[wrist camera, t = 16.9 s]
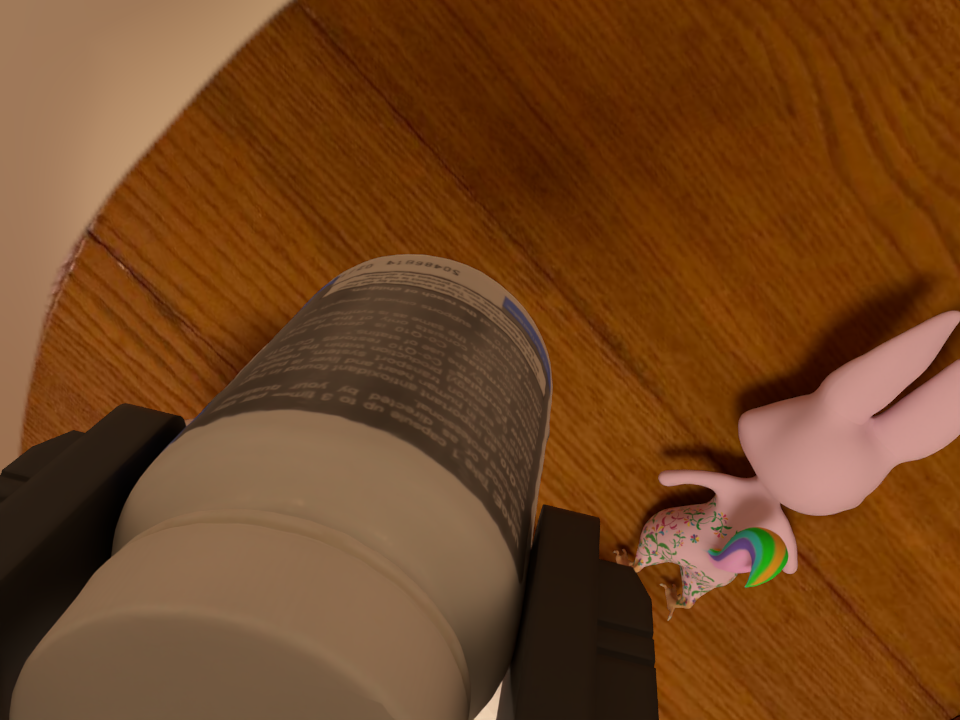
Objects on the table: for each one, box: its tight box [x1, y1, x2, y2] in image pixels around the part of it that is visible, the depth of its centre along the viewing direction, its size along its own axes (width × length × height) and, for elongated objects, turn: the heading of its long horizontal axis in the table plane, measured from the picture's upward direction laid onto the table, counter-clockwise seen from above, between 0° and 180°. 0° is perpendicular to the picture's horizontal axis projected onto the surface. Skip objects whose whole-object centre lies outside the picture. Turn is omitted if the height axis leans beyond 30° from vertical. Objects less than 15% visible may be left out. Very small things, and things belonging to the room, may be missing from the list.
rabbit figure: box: [613, 311, 960, 621], centre depth 27 cm, size 6×6×15 cm
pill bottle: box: [9, 254, 553, 720], centre depth 11 cm, size 5×5×8 cm
